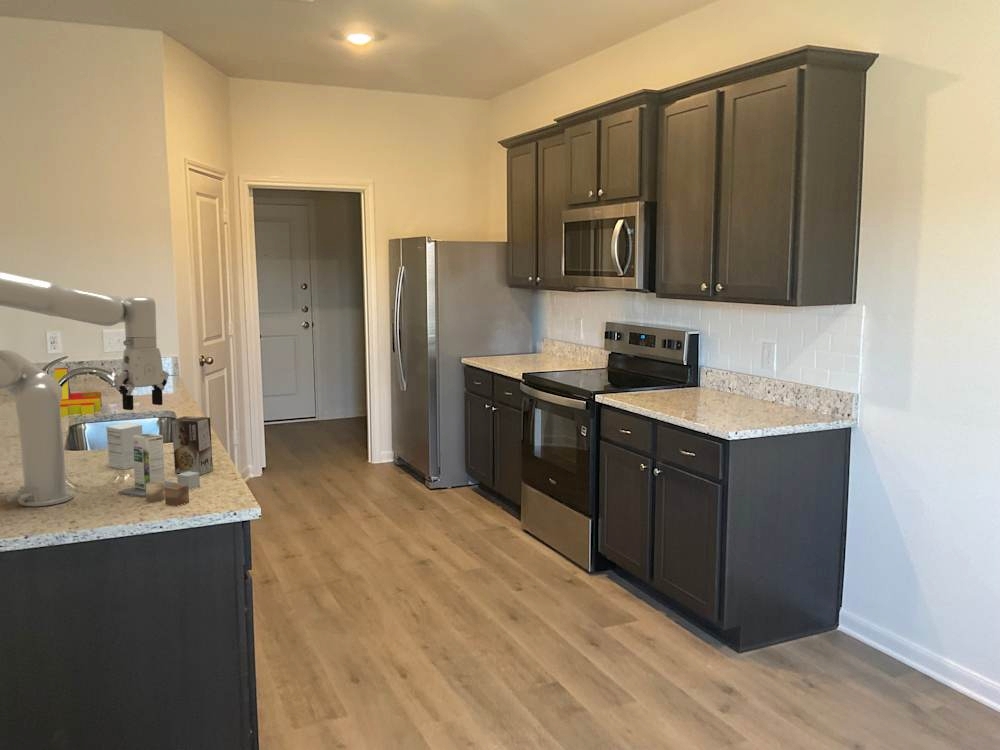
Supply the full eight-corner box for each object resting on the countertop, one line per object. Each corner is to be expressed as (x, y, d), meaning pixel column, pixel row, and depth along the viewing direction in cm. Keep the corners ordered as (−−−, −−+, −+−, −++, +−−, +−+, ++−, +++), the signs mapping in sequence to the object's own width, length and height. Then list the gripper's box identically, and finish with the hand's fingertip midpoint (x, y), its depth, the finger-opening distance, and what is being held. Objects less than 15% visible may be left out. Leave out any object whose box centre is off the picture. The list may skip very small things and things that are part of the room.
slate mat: (143, 497, 214) (142, 495, 214) (118, 493, 217) (118, 491, 217) (180, 485, 225) (180, 483, 225) (156, 482, 229) (156, 479, 229)
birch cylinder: (155, 503, 209) (154, 486, 208) (142, 501, 211) (141, 484, 210) (168, 498, 213) (167, 481, 212) (156, 496, 215) (155, 480, 214)
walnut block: (177, 506, 206) (176, 489, 206) (165, 504, 208) (164, 487, 207) (189, 502, 210) (188, 485, 209) (177, 500, 211) (176, 483, 211)
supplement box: (130, 462, 252) (127, 422, 251) (145, 465, 249) (142, 424, 247) (108, 467, 246) (105, 426, 244) (123, 470, 242) (120, 428, 241)
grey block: (188, 490, 221) (188, 476, 220) (178, 488, 223) (177, 474, 222) (200, 486, 225) (199, 472, 224) (189, 485, 226) (188, 471, 226)
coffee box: (214, 470, 242) (211, 417, 240) (200, 475, 236) (197, 421, 234) (187, 468, 245) (185, 415, 243) (173, 473, 239) (170, 419, 236)
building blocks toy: (48, 420, 323) (45, 374, 320) (52, 409, 345) (49, 367, 343) (101, 416, 331) (98, 371, 328) (101, 406, 353) (99, 364, 351)
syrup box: (134, 488, 220) (130, 435, 219) (153, 483, 225) (150, 431, 224) (147, 491, 218) (144, 438, 216) (166, 486, 223) (163, 434, 221)
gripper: (124, 346, 207) (126, 413, 209) (176, 342, 222) (178, 404, 224) (103, 345, 210) (105, 410, 212) (156, 340, 225) (158, 401, 227)
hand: (143, 407), depth 218 cm, fingers open, 9 cm apart
